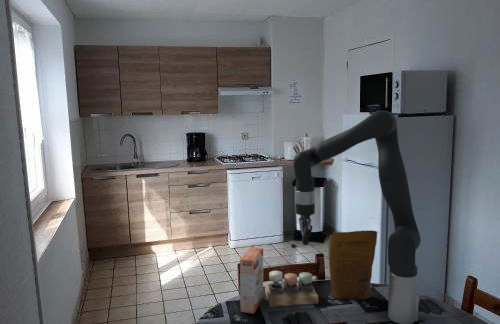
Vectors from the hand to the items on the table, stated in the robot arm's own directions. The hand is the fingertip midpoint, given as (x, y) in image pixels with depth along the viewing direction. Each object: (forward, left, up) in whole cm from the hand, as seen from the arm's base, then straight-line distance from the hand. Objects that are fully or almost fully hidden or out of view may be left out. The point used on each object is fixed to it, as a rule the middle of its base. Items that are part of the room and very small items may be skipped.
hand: (305, 244), depth 161 cm
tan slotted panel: (+6, 0, -22) cm, 23 cm away
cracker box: (+22, +4, -22) cm, 31 cm away
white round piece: (+12, 0, -16) cm, 20 cm away
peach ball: (+6, 0, -18) cm, 19 cm away
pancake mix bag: (-18, +3, -22) cm, 29 cm away
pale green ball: (0, 0, -18) cm, 18 cm away
